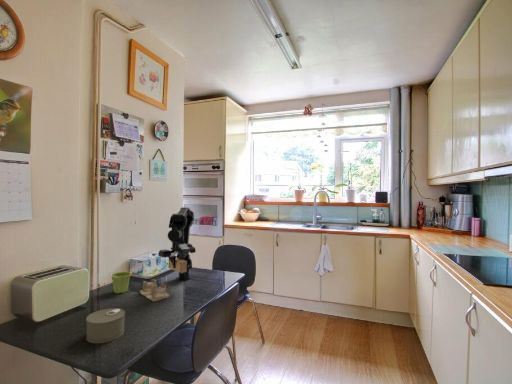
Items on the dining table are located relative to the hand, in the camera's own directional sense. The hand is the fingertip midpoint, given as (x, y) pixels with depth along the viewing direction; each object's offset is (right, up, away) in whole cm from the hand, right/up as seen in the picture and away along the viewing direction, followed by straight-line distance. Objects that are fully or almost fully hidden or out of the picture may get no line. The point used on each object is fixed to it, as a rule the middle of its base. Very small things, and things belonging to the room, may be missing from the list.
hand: (177, 267), depth 142 cm
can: (-12, -11, -46) cm, 49 cm away
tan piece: (-9, -11, -9) cm, 17 cm away
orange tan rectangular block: (0, -1, 0) cm, 1 cm away
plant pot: (-27, -11, -5) cm, 30 cm away
